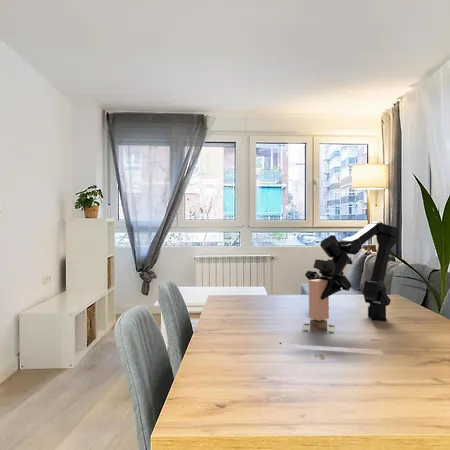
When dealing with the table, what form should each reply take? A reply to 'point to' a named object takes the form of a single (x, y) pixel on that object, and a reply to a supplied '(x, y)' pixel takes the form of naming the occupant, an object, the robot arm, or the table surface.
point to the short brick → (318, 325)
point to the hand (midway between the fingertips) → (315, 297)
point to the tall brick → (318, 300)
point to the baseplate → (330, 330)
